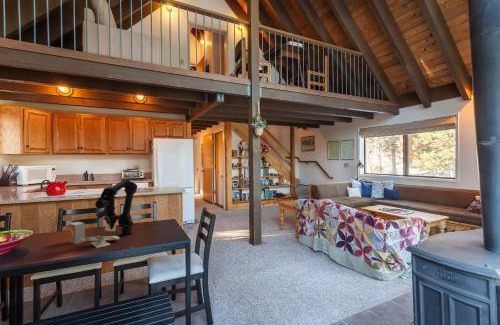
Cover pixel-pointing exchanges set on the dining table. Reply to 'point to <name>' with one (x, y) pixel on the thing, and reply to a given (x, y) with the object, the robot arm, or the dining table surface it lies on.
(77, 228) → the small box
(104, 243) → the pivot stand
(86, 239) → the beam
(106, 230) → the wooden block
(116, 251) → the dining table surface
